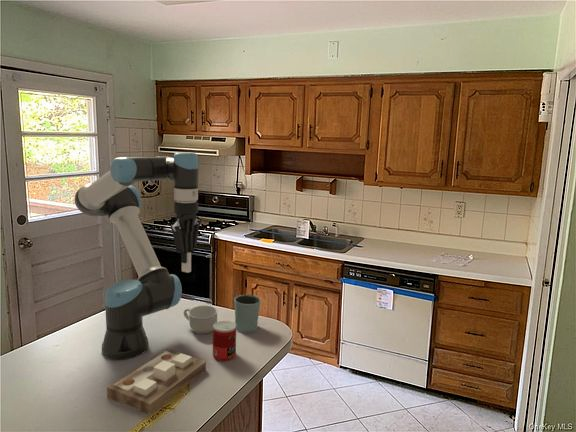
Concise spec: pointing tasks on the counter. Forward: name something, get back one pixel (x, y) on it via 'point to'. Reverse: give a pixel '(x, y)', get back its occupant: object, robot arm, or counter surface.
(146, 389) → the button
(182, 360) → the button
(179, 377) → the button board
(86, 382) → the counter surface
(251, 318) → the blue-green cup
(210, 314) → the teacup
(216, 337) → the canned food
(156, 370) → the button middle
